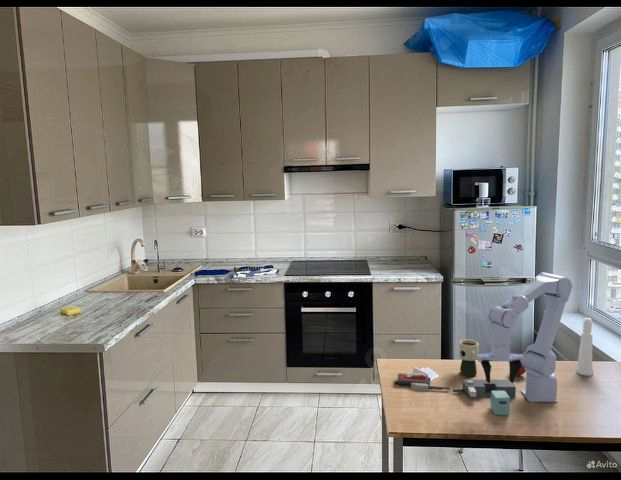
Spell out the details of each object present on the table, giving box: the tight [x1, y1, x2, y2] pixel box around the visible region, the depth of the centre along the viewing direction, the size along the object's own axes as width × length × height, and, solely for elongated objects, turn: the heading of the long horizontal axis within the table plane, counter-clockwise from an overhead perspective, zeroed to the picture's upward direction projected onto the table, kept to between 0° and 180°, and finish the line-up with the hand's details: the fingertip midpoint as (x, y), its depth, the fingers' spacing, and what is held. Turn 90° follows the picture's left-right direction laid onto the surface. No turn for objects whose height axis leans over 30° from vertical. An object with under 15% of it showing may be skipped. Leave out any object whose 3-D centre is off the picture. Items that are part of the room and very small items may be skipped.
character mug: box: [458, 339, 480, 377], centre depth 182 cm, size 11×7×13 cm, turn 0°
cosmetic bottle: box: [575, 317, 594, 377], centre depth 180 cm, size 6×6×22 cm
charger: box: [490, 391, 511, 416], centre depth 155 cm, size 4×7×6 cm, turn 176°
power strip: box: [452, 378, 517, 398], centre depth 167 cm, size 21×6×5 cm, turn 86°
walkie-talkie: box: [394, 372, 451, 392], centre depth 174 cm, size 9×4×20 cm
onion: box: [516, 362, 526, 377], centre depth 180 cm, size 6×6×8 cm
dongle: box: [468, 387, 477, 398], centre depth 163 cm, size 2×4×2 cm, turn 176°
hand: (499, 381), depth 155 cm, fingers open, 7 cm apart
